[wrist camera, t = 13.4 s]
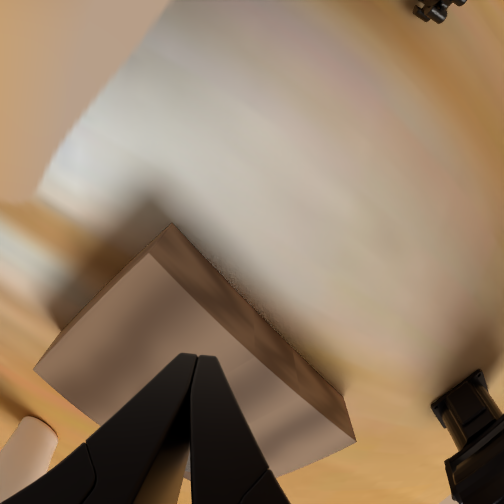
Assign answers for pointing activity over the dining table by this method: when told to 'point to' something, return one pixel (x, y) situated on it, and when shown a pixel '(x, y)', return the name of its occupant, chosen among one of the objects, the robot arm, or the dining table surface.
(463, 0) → the valve
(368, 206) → the dining table surface
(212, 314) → the walnut beam
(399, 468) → the dining table surface
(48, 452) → the white cylindrical piece
